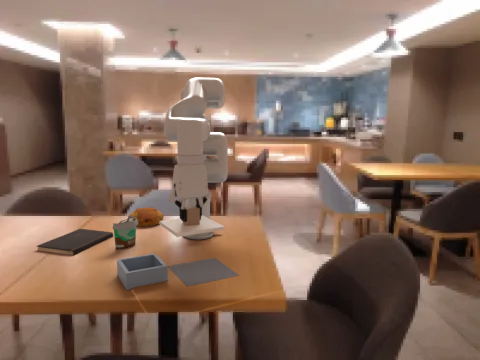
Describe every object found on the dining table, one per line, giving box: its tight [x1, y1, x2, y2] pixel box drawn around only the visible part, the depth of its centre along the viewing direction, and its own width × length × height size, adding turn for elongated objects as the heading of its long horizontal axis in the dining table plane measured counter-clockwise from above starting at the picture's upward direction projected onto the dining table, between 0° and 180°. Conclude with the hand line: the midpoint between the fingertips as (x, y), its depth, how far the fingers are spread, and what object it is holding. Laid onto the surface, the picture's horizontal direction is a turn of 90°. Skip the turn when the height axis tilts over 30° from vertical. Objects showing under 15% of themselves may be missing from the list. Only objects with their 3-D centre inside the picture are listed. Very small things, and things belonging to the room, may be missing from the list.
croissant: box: [128, 207, 165, 227], centre depth 176 cm, size 14×16×8 cm
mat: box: [167, 257, 240, 287], centre depth 121 cm, size 17×17×1 cm
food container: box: [112, 215, 138, 250], centre depth 145 cm, size 12×6×10 cm, turn 168°
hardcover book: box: [36, 228, 114, 256], centre depth 148 cm, size 16×23×2 cm
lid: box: [159, 206, 225, 238], centre depth 117 cm, size 15×15×6 cm
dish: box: [116, 252, 169, 291], centre depth 116 cm, size 12×12×5 cm
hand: (190, 219), depth 117 cm, fingers closed on lid, 4 cm apart
